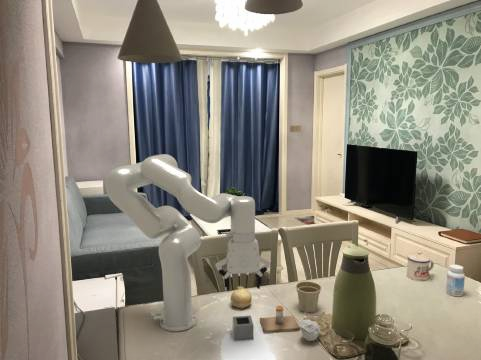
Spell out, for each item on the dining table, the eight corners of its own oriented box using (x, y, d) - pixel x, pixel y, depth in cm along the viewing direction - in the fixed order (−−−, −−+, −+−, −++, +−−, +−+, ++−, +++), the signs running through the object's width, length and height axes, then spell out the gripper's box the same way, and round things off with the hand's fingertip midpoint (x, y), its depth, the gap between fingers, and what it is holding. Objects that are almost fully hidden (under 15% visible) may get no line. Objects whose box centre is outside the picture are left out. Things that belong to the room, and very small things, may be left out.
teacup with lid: (414, 282, 167) (416, 256, 165) (401, 273, 176) (403, 248, 174) (439, 279, 169) (441, 253, 167) (425, 271, 178) (427, 246, 176)
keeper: (264, 333, 129) (264, 314, 128) (259, 320, 137) (259, 303, 136) (299, 330, 130) (300, 312, 129) (293, 318, 138) (293, 301, 137)
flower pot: (321, 316, 139) (321, 293, 138) (294, 313, 141) (294, 291, 140) (321, 304, 148) (321, 282, 147) (295, 301, 150) (296, 280, 149)
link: (234, 340, 125) (234, 326, 124) (232, 330, 131) (232, 316, 130) (253, 339, 125) (253, 324, 125) (250, 329, 131) (250, 315, 130)
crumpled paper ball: (294, 339, 125) (295, 319, 124) (309, 332, 129) (310, 312, 128) (309, 348, 120) (309, 327, 119) (324, 340, 125) (324, 320, 123)
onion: (255, 303, 149) (255, 285, 148) (245, 312, 142) (245, 294, 141) (237, 298, 153) (236, 281, 152) (226, 307, 146) (226, 289, 145)
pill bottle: (463, 292, 157) (466, 265, 155) (462, 298, 152) (465, 270, 150) (446, 288, 160) (448, 262, 158) (444, 294, 155) (447, 267, 153)
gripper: (215, 241, 118) (216, 294, 121) (272, 238, 120) (272, 291, 123) (214, 233, 125) (214, 284, 128) (267, 231, 127) (267, 281, 130)
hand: (242, 287), depth 125 cm, fingers open, 9 cm apart
